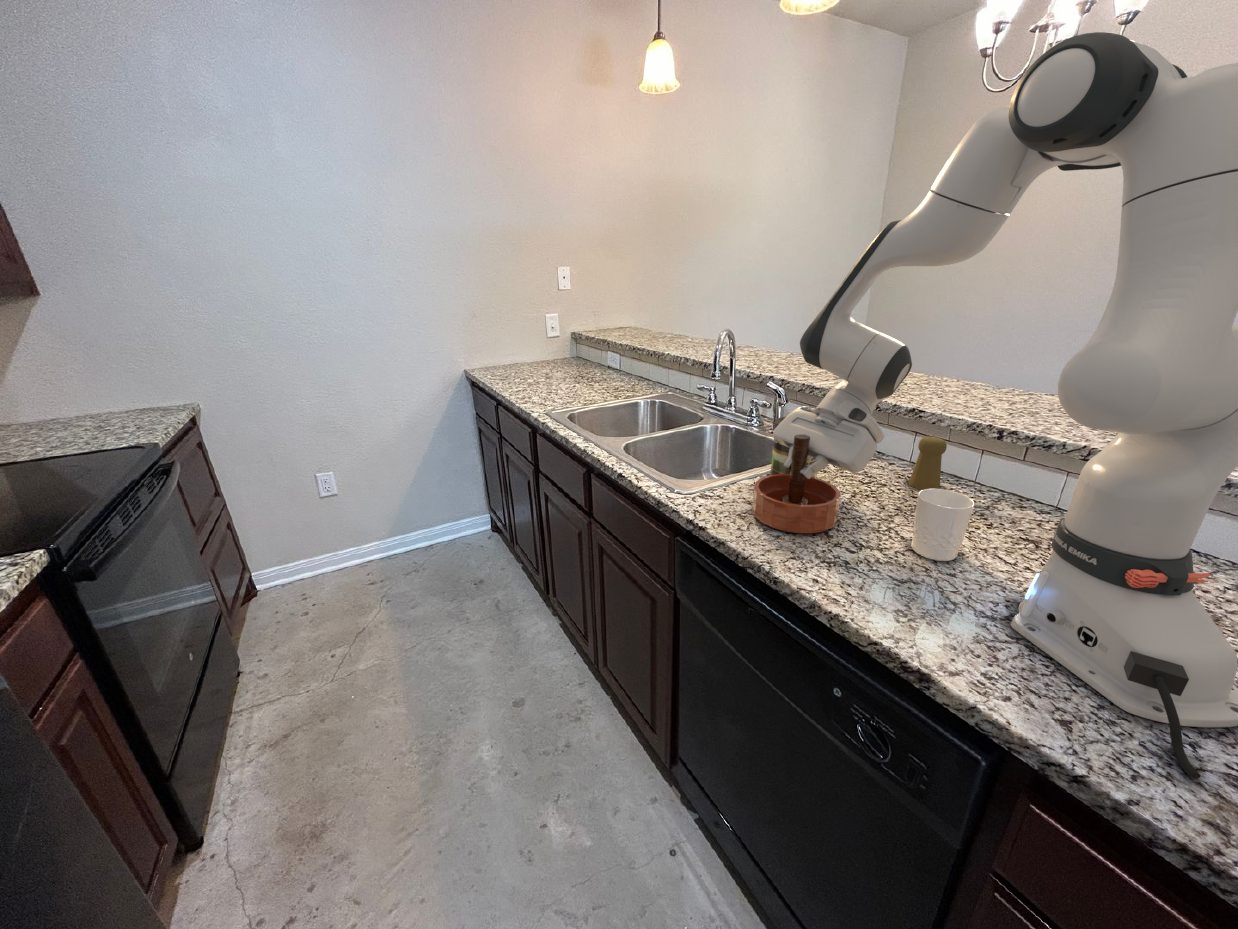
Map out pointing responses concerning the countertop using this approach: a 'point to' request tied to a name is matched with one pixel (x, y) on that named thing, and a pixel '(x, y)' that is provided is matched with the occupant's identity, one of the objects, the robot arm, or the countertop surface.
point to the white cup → (940, 523)
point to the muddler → (798, 471)
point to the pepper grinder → (928, 464)
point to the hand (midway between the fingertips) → (795, 472)
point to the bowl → (796, 505)
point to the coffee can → (783, 455)
